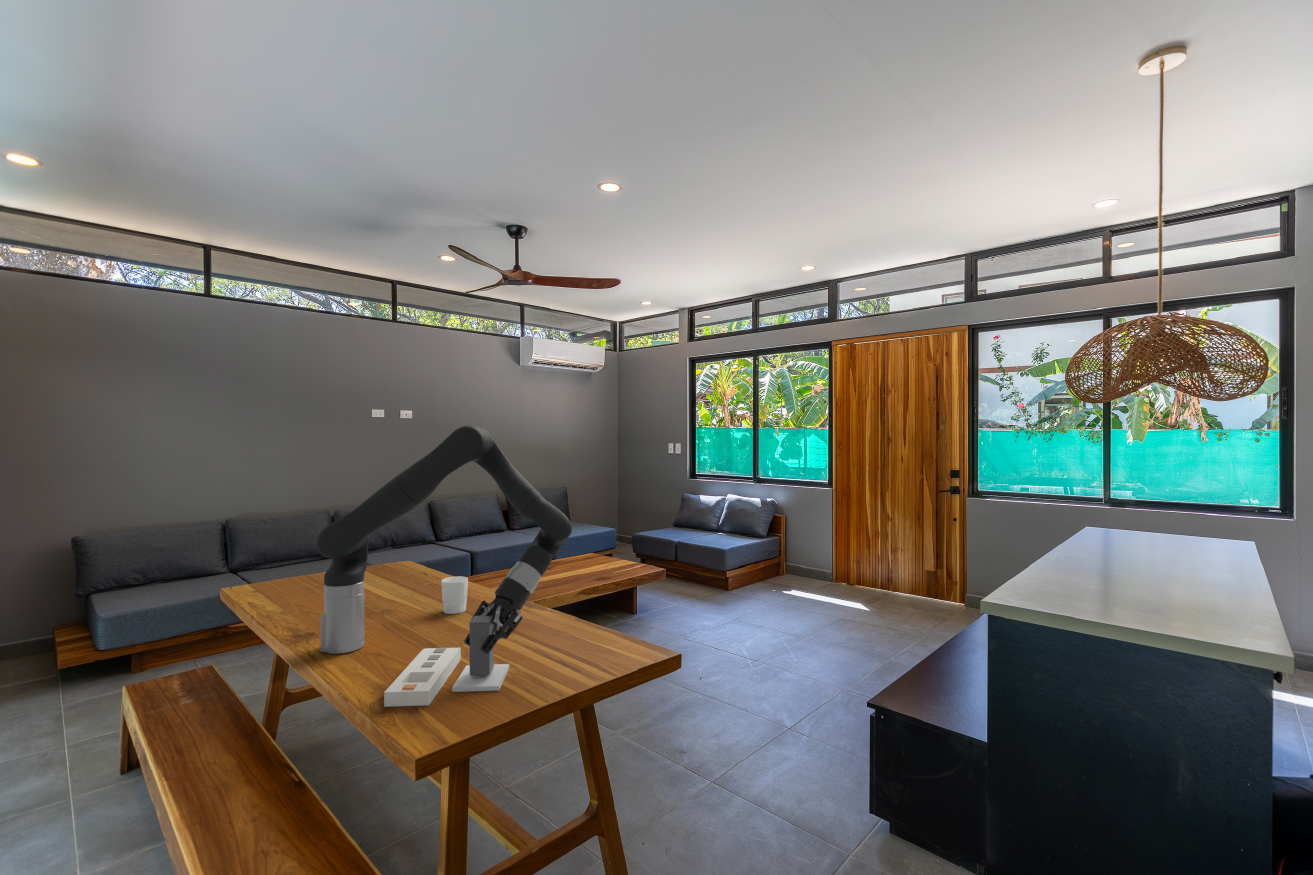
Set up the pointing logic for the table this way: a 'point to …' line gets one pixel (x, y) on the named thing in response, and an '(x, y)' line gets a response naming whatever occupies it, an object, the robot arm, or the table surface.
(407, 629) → the table surface
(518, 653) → the table surface
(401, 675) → the power strip
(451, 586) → the white cup
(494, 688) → the mat
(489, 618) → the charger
